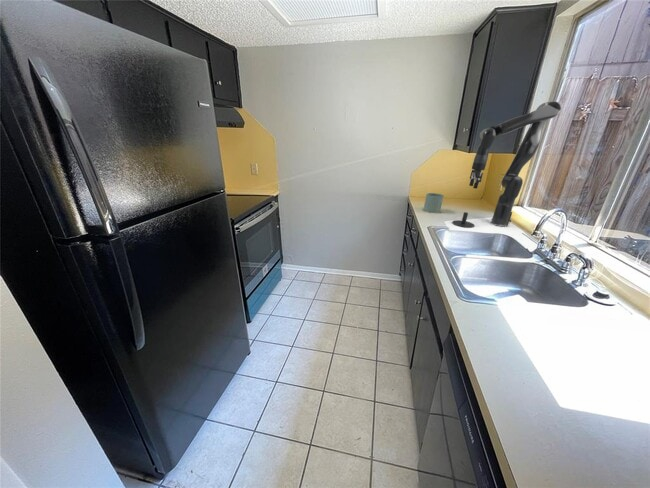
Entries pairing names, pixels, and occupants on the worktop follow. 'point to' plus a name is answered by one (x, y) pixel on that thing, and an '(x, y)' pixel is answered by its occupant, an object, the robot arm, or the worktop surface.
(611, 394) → the worktop surface
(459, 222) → the lid
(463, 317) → the worktop surface
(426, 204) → the teal cylindrical pot
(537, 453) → the worktop surface
